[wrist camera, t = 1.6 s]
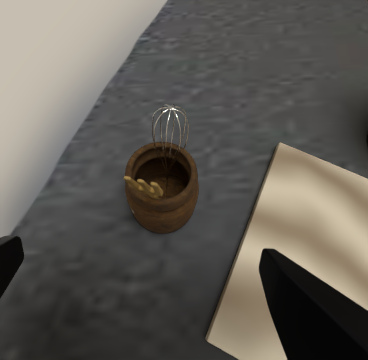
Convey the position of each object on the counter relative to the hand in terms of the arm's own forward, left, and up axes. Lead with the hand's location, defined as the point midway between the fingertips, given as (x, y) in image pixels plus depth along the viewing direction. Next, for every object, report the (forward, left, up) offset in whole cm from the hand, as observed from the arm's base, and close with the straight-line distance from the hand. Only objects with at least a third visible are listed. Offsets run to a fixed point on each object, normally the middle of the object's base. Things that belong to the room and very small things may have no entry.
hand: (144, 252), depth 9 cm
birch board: (+8, -13, -12) cm, 19 cm away
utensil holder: (+6, +2, -12) cm, 14 cm away
